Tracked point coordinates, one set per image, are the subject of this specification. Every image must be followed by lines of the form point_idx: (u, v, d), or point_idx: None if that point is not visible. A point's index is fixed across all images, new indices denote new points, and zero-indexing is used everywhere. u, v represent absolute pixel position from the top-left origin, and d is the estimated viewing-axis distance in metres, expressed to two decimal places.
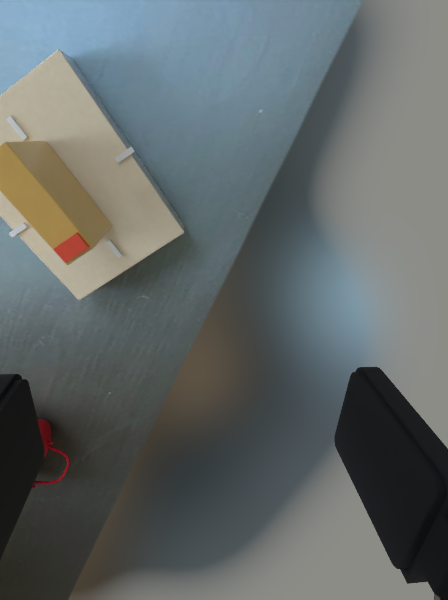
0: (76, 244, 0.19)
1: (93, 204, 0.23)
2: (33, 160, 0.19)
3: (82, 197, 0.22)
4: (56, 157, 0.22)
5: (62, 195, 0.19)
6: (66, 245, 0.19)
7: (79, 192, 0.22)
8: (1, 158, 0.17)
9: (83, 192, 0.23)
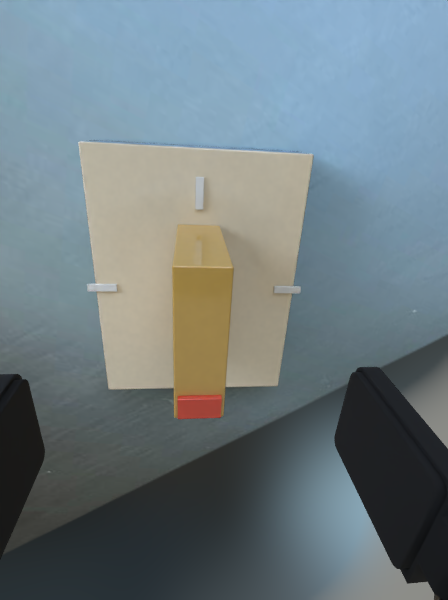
0: (210, 408, 0.13)
1: None
2: None
3: None
4: None
5: None
6: (197, 404, 0.13)
7: None
8: (210, 279, 0.11)
9: None
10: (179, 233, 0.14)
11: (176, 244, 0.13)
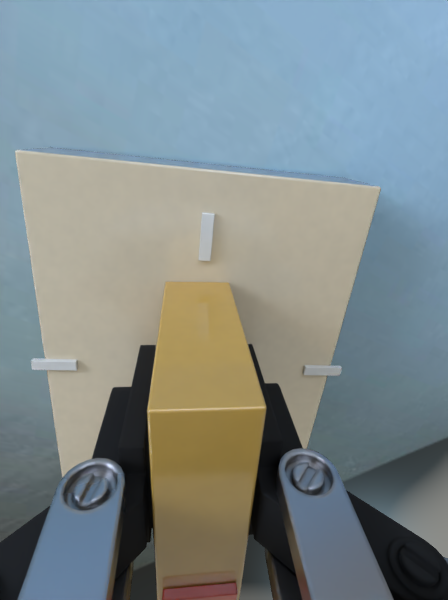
0: None
1: None
2: None
3: None
4: None
5: None
6: None
7: None
8: (222, 428, 0.06)
9: None
10: (167, 304, 0.09)
11: (160, 335, 0.08)
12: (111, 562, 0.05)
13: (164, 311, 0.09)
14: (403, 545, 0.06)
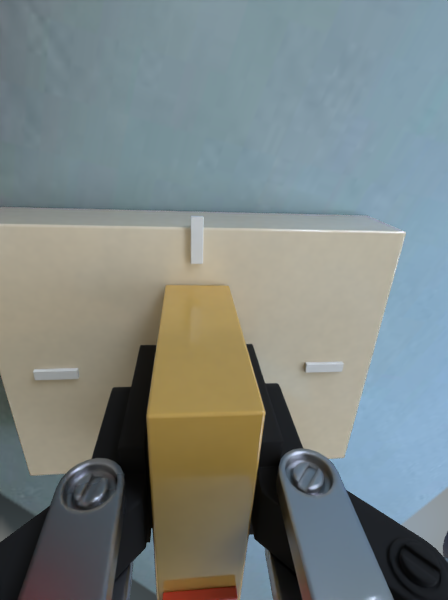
0: None
1: None
2: None
3: None
4: None
5: None
6: None
7: None
8: (221, 433, 0.06)
9: None
10: (167, 308, 0.09)
11: (160, 339, 0.08)
12: (111, 562, 0.05)
13: (164, 315, 0.09)
14: (403, 545, 0.06)
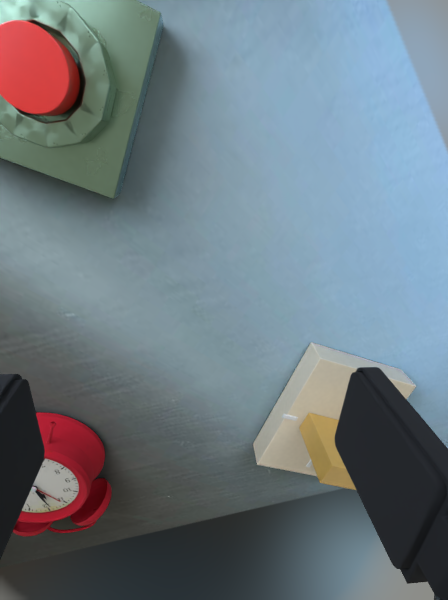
0: None
1: None
2: (337, 452, 0.27)
3: None
4: (322, 419, 0.30)
5: None
6: None
7: None
8: (332, 473, 0.26)
9: None
10: (304, 441, 0.29)
11: (310, 457, 0.28)
12: None
13: (306, 445, 0.29)
14: None
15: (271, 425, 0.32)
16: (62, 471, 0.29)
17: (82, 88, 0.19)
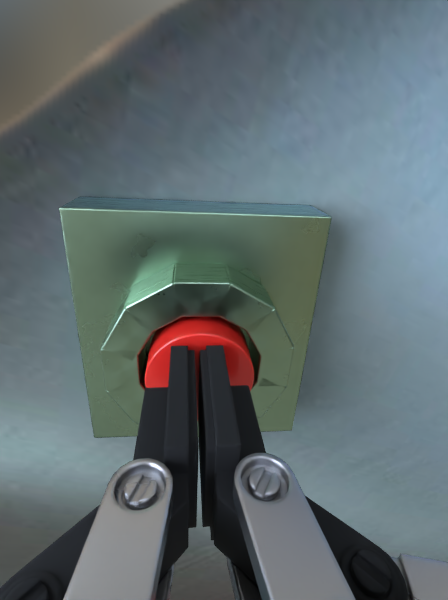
0: None
1: None
2: None
3: None
4: None
5: None
6: None
7: None
8: None
9: None
10: None
11: None
12: (156, 569, 0.05)
13: None
14: (357, 553, 0.06)
15: None
16: None
17: None
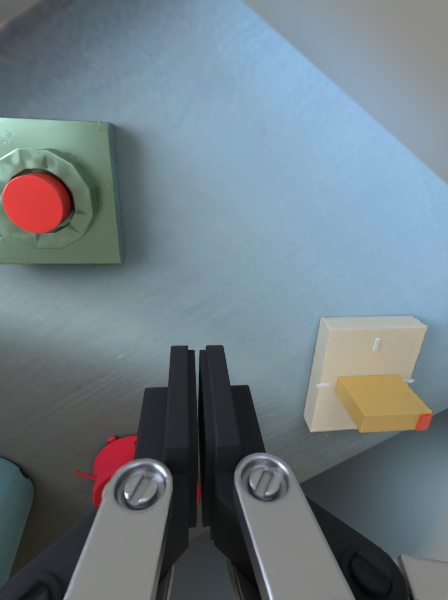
0: (426, 419, 0.30)
1: (383, 377, 0.34)
2: (369, 404, 0.31)
3: (382, 384, 0.33)
4: (351, 379, 0.34)
5: (391, 403, 0.31)
6: (421, 424, 0.30)
7: (377, 382, 0.34)
8: (368, 422, 0.30)
9: (375, 378, 0.34)
10: (341, 402, 0.34)
11: (348, 413, 0.32)
12: (156, 569, 0.05)
13: (343, 405, 0.33)
14: (357, 553, 0.06)
15: (311, 396, 0.37)
16: None
17: (71, 195, 0.24)
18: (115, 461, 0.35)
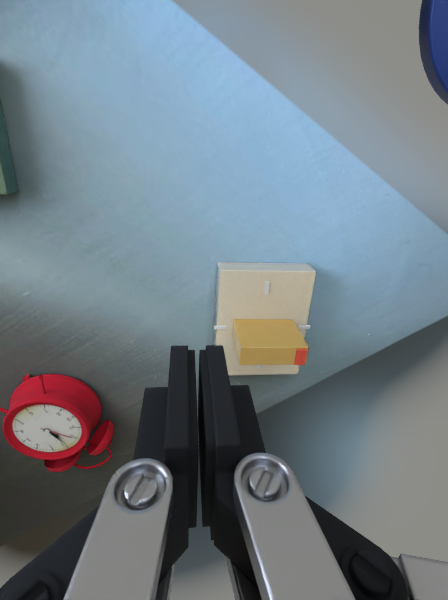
0: (301, 354, 0.32)
1: (277, 321, 0.36)
2: (250, 339, 0.33)
3: (272, 325, 0.35)
4: (245, 321, 0.36)
5: (272, 339, 0.33)
6: (298, 358, 0.32)
7: (269, 324, 0.35)
8: (245, 354, 0.32)
9: (268, 321, 0.36)
10: (234, 342, 0.35)
11: (236, 350, 0.34)
12: (156, 569, 0.05)
13: None
14: (357, 552, 0.06)
15: (214, 340, 0.39)
16: (62, 412, 0.38)
17: None
18: (24, 395, 0.37)
